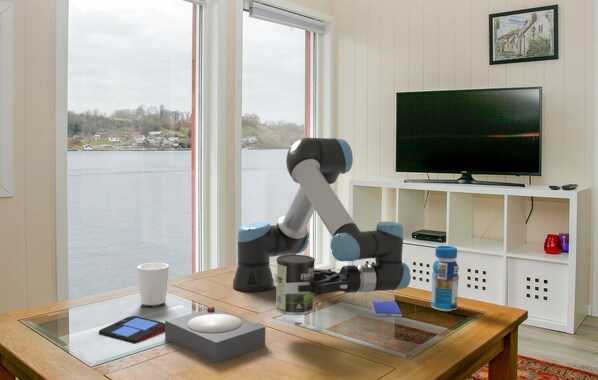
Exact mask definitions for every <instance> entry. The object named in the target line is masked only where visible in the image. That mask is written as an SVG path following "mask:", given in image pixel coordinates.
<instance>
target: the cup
mask: <svg viewBox="0 0 598 380" xmlns="http://www.w3.org/2000/svg"><path fill="white" fill-rule="evenodd" d="M136 268H137V277H138V287H139V295H140V297H139V298H140V303H141V305H142V306H143V307H144V308H148V307H150V306H151V308H157V307H158V306H165V303H166V299H167V291H168V290H167V289H168V280H169V270H170V269H169V268H170V265H169V264H168V263H165V262H146V263H142V264H139V265H138V266H137V267H136Z"/></svg>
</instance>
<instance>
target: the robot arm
mask: <svg viewBox="0 0 598 380" xmlns="http://www.w3.org/2000/svg"><path fill="white" fill-rule="evenodd" d="M353 161H354V156H353V151H352V148H351V145H350V144H349V143H348V141H347V140H345V139H342V138H336V137H332V138H330V137H329V138H328V137H327V138H325V137H302V138H300V139H298V140H296V141H295V142H293V143H292V144H291V146H290V148H289V149H288V151H287V154H286V170H287V172H288V173H289V176H290V177H291V180H292V181H293V182H295V183H296V184H298V185H299V188H298V190H297V192H296V194H295V196H294V198H293V200H292V202H291V204H290V206H289V208H288V210H287V213H286V214H284V215H283V216H281V217H280V218H279V219H278V221H277V223H276V224H275V225H270V223H269V222H267V221H256V222H250V223H245V224H243V225H241V226H240V227H239V228H238V232H237V233H238V234H237V268H236V271H235V274H234V278H233V280H232V288H233V289H235V290H237V291H240V292H251V293H254V292H255V293H257V292H264V291H269V290H272V289H274V287H275V284H277V272H274V277H273V273H272V269H271V266H270V258H272V257H279V256H283V255H300V254H301V253H303V252H305V251H306V249H307V247H308V246H309V243H310V240H309V239H310V232H309V230H308V226H307V225H308V224H309V222H310V220H311V218H312V216H313V215H314V213H315V211H316V213H317V215H318V216H319V217H320V220H321V221H322V222H323V224H324V226H325V227H326V229H327V231H328V232H329V234H330V236H331V241H330V250H331V255H332V256H333V258H334V259H335V260H336V261H340V262H355V261H359V260H365V259H375V260H374V262H375V264H369V263H368V262H365V263H364V264H360V265H359V264H358V265H355V264H354V265H353V264H352V265H351V264H349V265H343V266H342V267H341V268H340V271H339V272H337V271H335V270H332V269H330V268H329V269H328V268H327V269H314V281H311V282H294V283H285V294H294V293H309V292H310V293H313V294H314V295H315V296H320V295H325V294H330V293H331V294H332V293H337V292H343V293H345V294H349V293H352V294H353V293H370V292H377V291H378V292H379V291H382V292H384V291H397V290H404V289H407V288H408V287H409V285H410V283H411V278H412V276H411V273H410V271H411V269H410V268H409V266H408V264H407V263H405V262H403V260H402V259H403V245H404V244H403V243H404V227H403V225H402V224H401V223H399V222H396V221H380V222H378V223H377V224H376V228H375V230H368V231H361V229H360V228H359V227H358V225H357V224H356V223H355V221H354V220H353V218H352V217H351V215H350V214H349V212H348V211H347V209H346V208H345V206H344V205H343V203H342V202H341V199H340V198H339V197H338V195H337V194H336V193H335V191H334V190H333V188H332V186H331V185H332V184H333V185H334V183H336V182H337V180H338V178H339V176H340V174H341V175H342V174H343V175H345V174H347V173H348V172H350V171H351V169H352V166H353V164H354V163H353Z"/></svg>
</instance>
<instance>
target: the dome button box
mask: <svg viewBox="0 0 598 380" xmlns="http://www.w3.org/2000/svg"><path fill="white" fill-rule="evenodd" d="M206 308H207V309H204V310H200V311H196V312H193V313H189V314H185V315H182V316H177V317H173V318H170V319H165V320H164V323H165V331H164V339H165V340H167V341H169V342H171V343H173V344H175V345H177V346H179V347H182V348H183V349H185V350H188V351H190V352H192V353H194V354H196V355H198V356H200V357H202V358H204V359H206V360H208V361H210V362H213V363H215V364H218V363H220V362H222V361H226V360H228V359H231V358H234V357H238V356H240V355H242V354H245V353H248V352H251V351H253V350H257V349H258V348H259V349H260V348H262V347H264V345H265V346H266V326H265V325H262V324H259V323H256V322H253V321H251V320H248V319H245V318H242V317H239V316H237V315H234V314H231V313H229V312H226V311H223V310H220V309H218V308H215V306H213V305H209V306H207V307H206Z"/></svg>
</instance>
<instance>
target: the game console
mask: <svg viewBox="0 0 598 380" xmlns="http://www.w3.org/2000/svg"><path fill="white" fill-rule="evenodd" d="M163 332H164V333H165V322H163V321H160V320H155V319H151V318H147V317H142V316H137V315H131V316H127V317H125V318H123V319H121V320H118V321H116V322H114V323H112V324H110V325H108V326H105V327H103V328H101V329H100V330H99V331H98V334H99V335H102V336H106V337H108V338H113V339H117V340H120V341H125V342H126V343H131V344H136V343H137V344H138V343H140V342H142V341H144V340H147V339H149V338H151V337H154V336H156V335H159V334H160V333H163Z"/></svg>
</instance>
